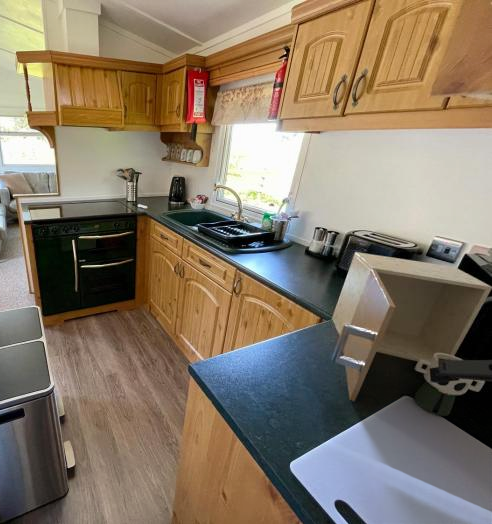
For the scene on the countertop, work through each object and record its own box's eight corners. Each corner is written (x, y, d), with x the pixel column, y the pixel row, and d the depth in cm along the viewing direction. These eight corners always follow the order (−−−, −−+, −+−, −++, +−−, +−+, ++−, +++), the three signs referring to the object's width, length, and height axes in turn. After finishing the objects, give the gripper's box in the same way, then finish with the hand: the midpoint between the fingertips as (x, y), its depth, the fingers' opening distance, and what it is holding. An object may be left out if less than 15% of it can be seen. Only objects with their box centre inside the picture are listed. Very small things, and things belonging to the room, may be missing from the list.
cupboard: (447, 368, 83) (492, 287, 73) (343, 344, 91) (372, 267, 81) (419, 338, 97) (454, 266, 88) (331, 319, 105) (355, 251, 95)
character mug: (402, 404, 69) (425, 360, 64) (399, 386, 74) (420, 345, 70) (466, 429, 63) (496, 383, 59) (457, 408, 69) (484, 365, 64)
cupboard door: (321, 389, 71) (356, 297, 62) (321, 338, 93) (346, 263, 84) (354, 401, 68) (395, 307, 59) (346, 345, 90) (375, 269, 80)
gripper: (726, 375, 37) (553, 385, 56) (479, 327, 45) (399, 350, 64) (755, 439, 35) (563, 427, 53) (486, 376, 42) (400, 385, 61)
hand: (473, 385), depth 58 cm, fingers open, 13 cm apart
